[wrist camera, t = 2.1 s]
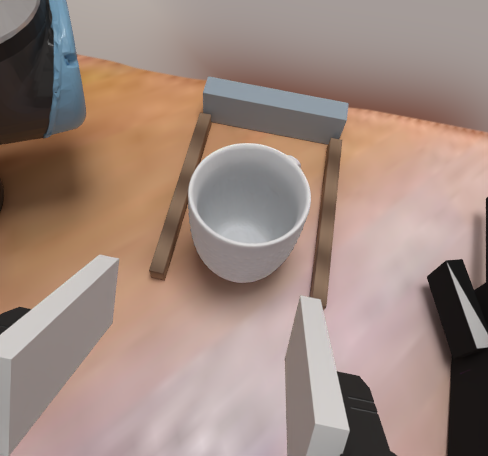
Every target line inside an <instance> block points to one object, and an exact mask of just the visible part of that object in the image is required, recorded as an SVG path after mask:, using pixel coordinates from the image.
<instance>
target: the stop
mask: <svg viewBox="0 0 488 456" xmlns="http://www.w3.org/2000/svg"><path fill="white" fill-rule="evenodd" d="M347 112H348V103H345V102H340V101H334V100H329V99H324V98H318V97H313V96H307V95H302V94H298V93H292V92H287V91H282V90H277V89H271V88H266V87H261V86H256V85H250V84H245V83H240V82H235V81H229V80H224V79H219V78H214V77H208V79H207V82H206V85H205V88H204V91H203V113H205V114H210V115H211V122H214V123H219V124H225V125H230V126H235V127H240V128H245V129H250V130H256V131H261V132H266V133H271V134H276V135H281V136H287V137H292V138H297V139H302V140H307V141H312V142H318V143H323V144H329V141H330V139H331V138H335V139H339V138H340V135H341V133H342V131H343V128H344V126H345V123H346V121H347Z"/></svg>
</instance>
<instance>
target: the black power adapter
mask: <svg viewBox="0 0 488 456" xmlns="http://www.w3.org/2000/svg"><path fill="white" fill-rule="evenodd" d="M427 279H428V282H429V285H430V289H431V292H432V295H433V298H434V301H435V304H436V307H437V310H438V313H439V316H440V320H441V323H442V326H443V329H444V332H445V335H446V338H447V341H448V344H449V347H450V351H451V354H452V364H451V396H450V421H449V445H448V456H488V197H487V198H486V283H484V284H483V285H481V286H480V287H479V288H477V289H476V290H474V289H473V286H472V284H471V281H470V278H469V276H468V273H467V270H466V268H465V265H464V262H463V260H462V259H460V260H447V261H445V262H444V263H443V264H441V265H440V266H439V267H438V268H437V269H435V270H434V271H433V272H432V273H431V274H430V275H428V276H427Z"/></svg>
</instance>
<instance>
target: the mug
mask: <svg viewBox="0 0 488 456" xmlns="http://www.w3.org/2000/svg"><path fill="white" fill-rule="evenodd" d="M310 203H311V194H310V188H309V184H308V181H307V179H306V177H305V175H304V173H303V171H302V170H301V164H300V162H299V161H298V160H297V159H296V158H294V157H293V156H290V155H286V154H284V153H282V152H280V151H278V150H276V149H274V148H271V147H268V146H265V145H260V144H253V143H241V144H234V145H229V146H226V147H223V148H221V149H218V150H216V151H214V152H213V153H211V154H210V155H208V156H207V157H206V158H205V159H203V160H202V161H201V163H200V164H199V165H198V166H197V167H196V169H195V171H194V173H193V175H192V177H191V180H190V183H189V188H188V209H189V223H190V226H191V229H190V231H191V233H192V239H193V241H194V246H195V247H196V250H197V253H198V254H199V256H200V258H201V259H202V260H203V262H204V264H205V265H207V267H208V268H209V269H210V270H212V271H213V272H214V273H215V274H217V275H218V276H219V277H222V278H224V279H226V280H229V281H231V282H238V283H248V282H254V281H257V280H260V279H262V278H265V277H267V276H268V275H270V274H271V273H272V272H273V271H275V270H276V269H277V268H278V267H280V266H281V265H282V263H283V262H284V261H285V260H286V258H287V257H288V256H289V255H290V252H291V251H292V250H293V248H294V245H295V244H296V243H297V239H298V238H299V237H300V233H301V231H302V230H303V226H304V223H305V222H306V218H307V216H308V213H309V209H310Z"/></svg>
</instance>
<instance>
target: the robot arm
mask: <svg viewBox="0 0 488 456" xmlns="http://www.w3.org/2000/svg"><path fill="white" fill-rule="evenodd" d="M85 117H86V105H85V99H84V92H83V87H82V81H81V75H80V70H79V65H78V61H77V54H76V49H75V43H74V37H73V31H72V27H71V21H70V16H69V11H68V7H67V2H66V0H0V145H2V144H8V143H14V142H20V141H26V140H32V139H38V138H48V137H50V136H51V135H53V134H57V133H61V132H65V131H69V130H73V129H76V128H78V127H79V126H80V125H81V124H82V123H83V122H84V120H85ZM3 199H4V189H3V184H2V181H1V179H0V211H1V208H2V205H3ZM118 265H119V258H114V257H109V256H104V255H98V256H97V257H96V258H94V259H93V260H92V261H91V262H90V263H88V264H87V265H86V266H85V267H83V268H82V269H81V270H80V271H78V272H77V273H76V274H75V275H73V276H72V277H71V278H70V279H69V280H67V281H66V282H65V283H64V284H62V285H61V286H60V287H59V288H57V289H56V290H55V291H54V292H52V293H51V294H50V295H49V296H48V297H46V298H45V299H44V300H43V301H41V302H40V303H39V304H38V305H36V306H35V307H34V308H33V309H27V308H22V307H18V308H15V309H12V310H10V311H7V312H5V313H2V314H1V315H0V455H3V456H9V455H10V454H11V453H12V451H13V450H14V449H15V448H16V446H17V445H18V444H19V442H20V441H21V440H22V439H23V437H24V436H25V435H26V433H27V432H28V431H29V430H30V428H31V427H32V426H33V424H34V423H35V422H36V421H37V419H38V418H39V417H40V415H41V414H42V413H43V412H44V410H45V409H46V408H47V406H48V405H49V404H50V403H51V401H52V400H53V399H54V397H55V396H56V395H57V394H58V392H59V391H60V390H61V388H62V387H63V386H64V385H65V383H66V382H67V381H68V379H69V378H70V377H71V376H72V374H73V373H74V372H75V370H76V369H77V368H78V367H79V365H80V364H81V363H82V361H83V360H84V359H85V358H86V356H87V355H88V354H89V352H90V351H91V350H92V349H93V347H94V346H95V345H96V343H97V342H98V341H99V340H100V338H101V337H102V336H103V334H104V333H105V332H106V331H107V329H108V328H109V327H110V325H111V324H112V322H113V312H114V303H115V293H116V284H117V274H118ZM285 383H286V423H287V456H397V455H396V454H394V453H393V452H391V451H390V449H389V446H388V443H387V440H386V437H385V434H384V431H383V428H382V425H381V421H380V418H379V415H378V414H377V409H376V406H375V404H374V400H373V397H372V394H371V391H370V388H369V387H368V386H367V385H366V383H365V382H364V381H363V380H362V379H361V377H360V376H357V375H352V374H347V373H342V372H337V371H336V367H335V362H334V358H333V353H332V348H331V344H330V339H329V335H328V330H327V326H326V321H325V317H324V312H323V308H322V303H321V299H316V298H311V297H306V296H301V295H300V299H299V303H298V307H297V311H296V315H295V319H294V323H293V328H292V332H291V336H290V340H289V344H288V348H287V352H286V356H285Z"/></svg>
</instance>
